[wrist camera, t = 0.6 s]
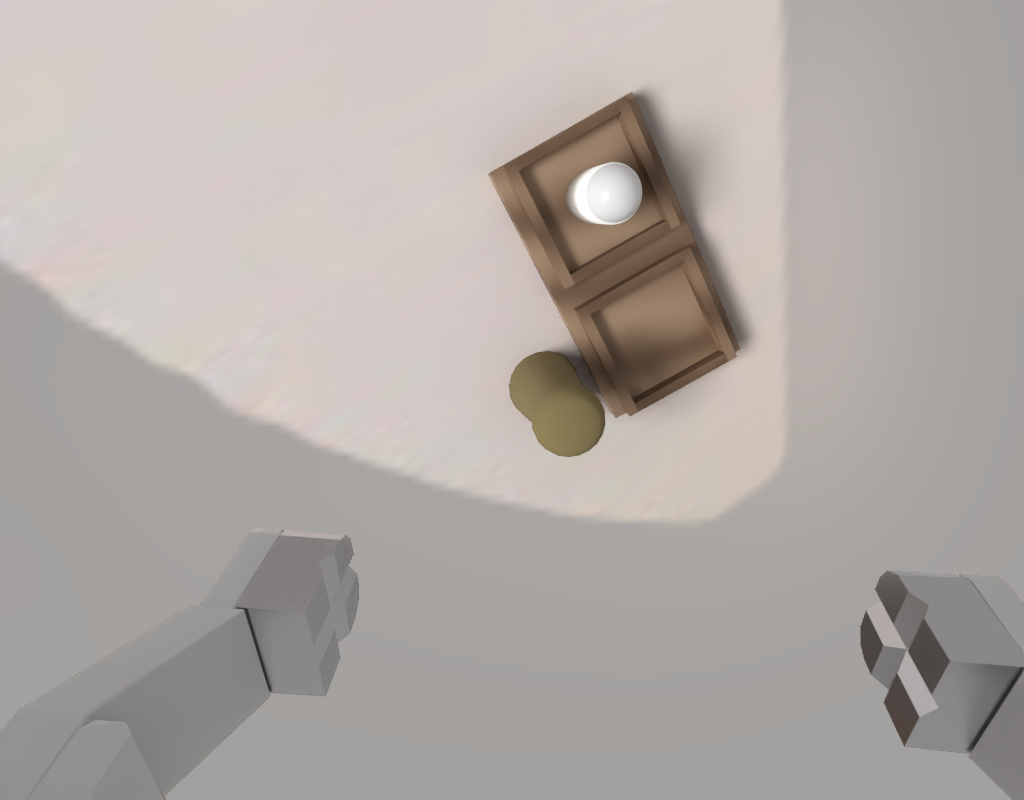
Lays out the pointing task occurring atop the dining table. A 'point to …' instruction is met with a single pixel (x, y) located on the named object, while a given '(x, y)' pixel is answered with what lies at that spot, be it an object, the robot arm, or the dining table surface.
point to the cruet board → (619, 263)
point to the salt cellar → (604, 194)
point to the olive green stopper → (557, 404)
